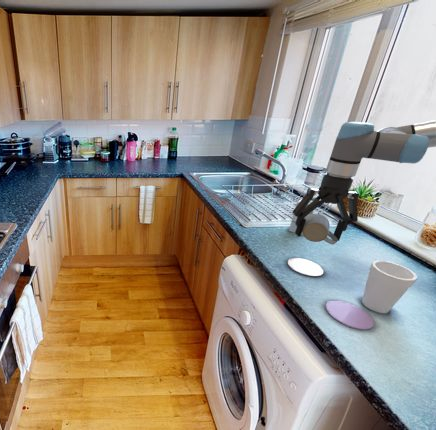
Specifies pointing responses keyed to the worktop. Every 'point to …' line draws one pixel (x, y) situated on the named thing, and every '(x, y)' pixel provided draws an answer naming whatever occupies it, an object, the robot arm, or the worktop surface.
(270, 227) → the worktop surface
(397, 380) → the worktop surface
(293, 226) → the syrup box
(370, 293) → the foam cup
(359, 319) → the lilac coaster
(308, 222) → the ceramic mug
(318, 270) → the cork coaster
